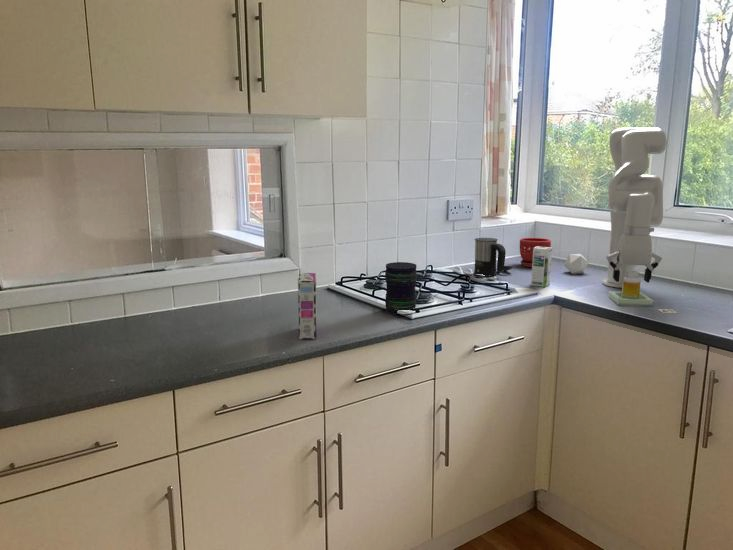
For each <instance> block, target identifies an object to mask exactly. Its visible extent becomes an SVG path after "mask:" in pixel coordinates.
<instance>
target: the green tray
mask: <svg viewBox="0 0 733 550" xmlns="http://www.w3.org/2000/svg"><path fill="white" fill-rule="evenodd" d="M621 295H622V291H608V295H607V296H608V298H609V299H610V300H611V301H612V302H613V303H614V304H615V305H616V306H632V307H653V306H654V299H652V298H650V297H649V296H648V295H646V293H644V292H642V291H639V299H625V298H621Z"/></svg>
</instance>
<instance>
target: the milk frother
mask: <svg viewBox="0 0 733 550" xmlns="http://www.w3.org/2000/svg"><path fill="white" fill-rule="evenodd" d="M474 241H475V243H474V244H475V245H474V272H473V274H474V273H475V274H483V275H485V276H484V277H490V276H489V275H494V276H497V273H502V272H503V273H506V272H508V271H509V270H512V269H514V268H515V265H510V266H509V265H505V261H506V248H505V247H504V245H502V244H500V243H498V238H494V237H476V238H474ZM494 276H493V277H494Z"/></svg>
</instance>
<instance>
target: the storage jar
mask: <svg viewBox="0 0 733 550" xmlns="http://www.w3.org/2000/svg"><path fill="white" fill-rule="evenodd" d="M384 277H385V283H386V284H385V285H386V291H385V292H386V293H385V299H384V300H385V313H387V314H390V315H392V314H393V316H397V315H396V314H397V311H398V310H409V309H413V308H415V309H416V307H417V300H416V299H417V295H416V283H417V278H418V276H417V264H416V263H413V262H408V261H407V262H404V261H403V262H402V261H399V262H394V261H393V262H389V263H386V264H385V275H384Z"/></svg>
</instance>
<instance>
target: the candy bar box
mask: <svg viewBox="0 0 733 550" xmlns="http://www.w3.org/2000/svg"><path fill="white" fill-rule="evenodd" d="M297 286H298V287H297V289H298V290H297V291H298V292H297V293H298V295H297V296H298V297H297V298H298V340H301V341H302V340H307V341H308V340H309V341H310V340H317V330H318V329H317V328H318V327H317V326H318V323H317V322H318V319H317V317H318V316H317V315H318V310H317V309H318V308H317V307H318V305H317V303H318V300H317V276H316V272H302V273H301V272H300V273H298V279H297Z"/></svg>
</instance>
